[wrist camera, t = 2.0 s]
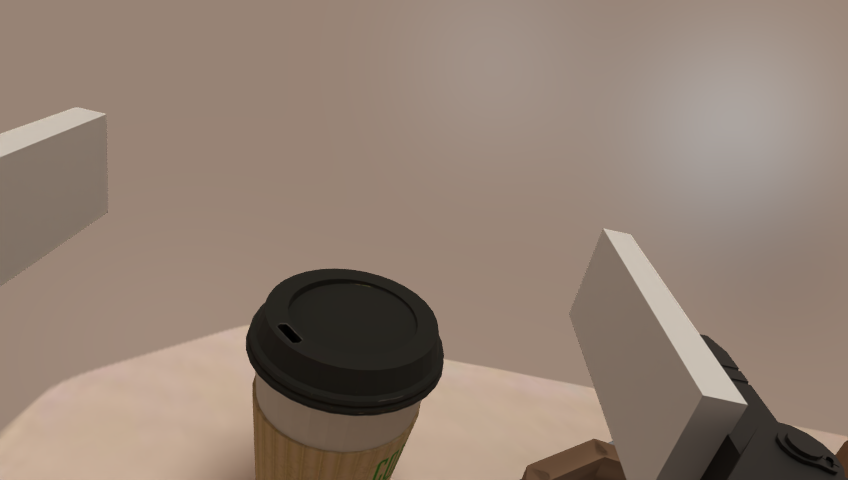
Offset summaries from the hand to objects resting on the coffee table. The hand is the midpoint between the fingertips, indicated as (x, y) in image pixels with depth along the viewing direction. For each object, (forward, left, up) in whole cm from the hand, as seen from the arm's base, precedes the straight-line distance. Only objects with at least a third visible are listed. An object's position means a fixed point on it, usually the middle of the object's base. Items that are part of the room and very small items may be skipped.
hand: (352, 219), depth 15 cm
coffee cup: (+8, -6, -24) cm, 26 cm away
